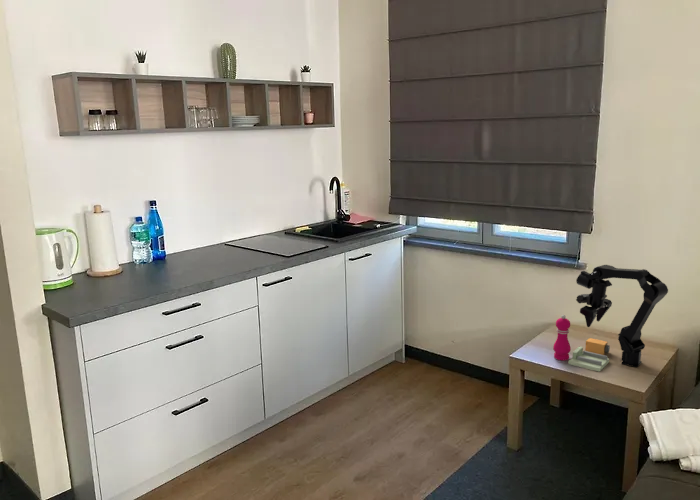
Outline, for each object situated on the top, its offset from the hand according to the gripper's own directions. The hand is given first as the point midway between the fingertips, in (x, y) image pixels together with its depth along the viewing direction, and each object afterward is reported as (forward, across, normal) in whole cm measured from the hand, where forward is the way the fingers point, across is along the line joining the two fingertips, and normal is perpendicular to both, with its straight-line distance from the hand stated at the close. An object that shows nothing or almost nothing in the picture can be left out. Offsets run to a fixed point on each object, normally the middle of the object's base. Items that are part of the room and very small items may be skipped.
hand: (593, 324), depth 264 cm
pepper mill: (+12, +18, -3) cm, 22 cm away
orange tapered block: (+12, +2, +4) cm, 13 cm away
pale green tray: (+11, +16, +8) cm, 20 cm away
